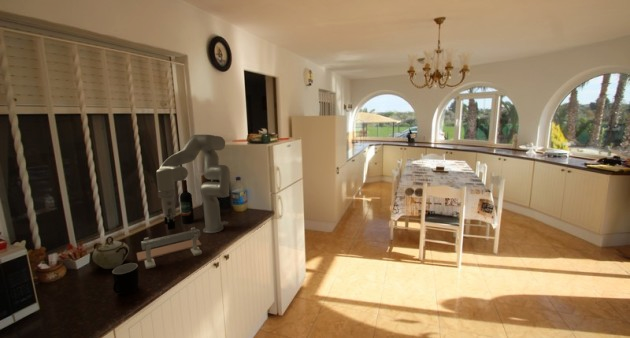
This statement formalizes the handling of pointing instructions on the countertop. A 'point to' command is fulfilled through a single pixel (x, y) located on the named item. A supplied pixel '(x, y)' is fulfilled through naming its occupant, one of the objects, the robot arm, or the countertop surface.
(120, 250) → the sugar bowl
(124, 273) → the mug
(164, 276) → the countertop surface
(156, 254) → the terracotta mat
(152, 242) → the steel rail
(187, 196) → the wine bottle
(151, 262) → the shelf brackets
